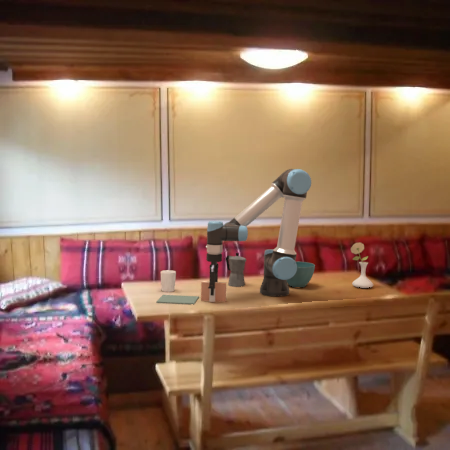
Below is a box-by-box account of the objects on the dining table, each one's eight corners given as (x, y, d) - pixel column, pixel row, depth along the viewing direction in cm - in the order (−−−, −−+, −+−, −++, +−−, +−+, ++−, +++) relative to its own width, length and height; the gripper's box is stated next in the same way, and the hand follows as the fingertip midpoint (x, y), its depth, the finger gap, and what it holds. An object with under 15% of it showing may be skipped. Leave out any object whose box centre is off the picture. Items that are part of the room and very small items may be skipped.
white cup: (161, 292, 306) (161, 273, 305) (159, 289, 314) (159, 270, 313) (176, 292, 308) (176, 272, 307) (174, 288, 316) (174, 270, 315)
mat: (198, 297, 297) (198, 296, 297) (193, 304, 282) (193, 303, 282) (162, 295, 299) (162, 294, 299) (156, 302, 284) (156, 301, 284)
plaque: (226, 300, 292) (226, 282, 291) (225, 301, 290) (225, 283, 289) (201, 299, 293) (202, 281, 292) (200, 300, 291) (201, 282, 290)
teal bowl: (320, 288, 325) (321, 266, 323) (290, 290, 318) (291, 267, 317) (303, 282, 341) (304, 260, 340) (275, 283, 335) (275, 262, 333)
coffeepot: (251, 286, 327) (252, 253, 325) (239, 288, 320) (239, 255, 319) (231, 281, 338) (232, 250, 336) (219, 283, 332) (220, 251, 330)
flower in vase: (371, 285, 336) (373, 241, 333) (374, 289, 325) (376, 244, 322) (347, 284, 337) (349, 240, 335) (350, 288, 326) (352, 243, 323)
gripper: (209, 249, 299) (208, 295, 301) (203, 255, 280) (202, 304, 282) (224, 250, 298) (222, 296, 301) (219, 256, 279) (218, 305, 281)
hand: (213, 299), depth 291 cm, fingers open, 6 cm apart
